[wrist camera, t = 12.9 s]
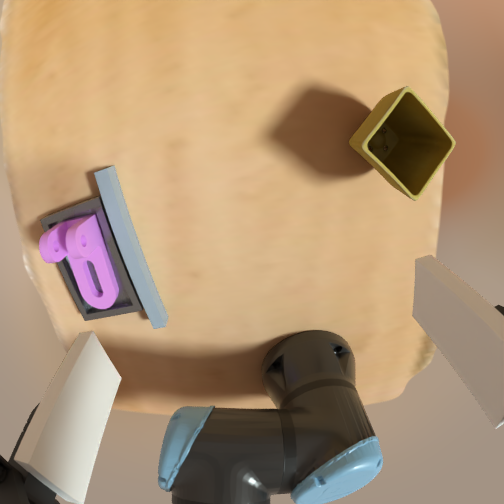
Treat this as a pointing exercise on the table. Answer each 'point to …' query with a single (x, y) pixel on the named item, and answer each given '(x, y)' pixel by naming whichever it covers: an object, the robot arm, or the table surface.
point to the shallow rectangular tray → (127, 291)
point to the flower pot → (404, 142)
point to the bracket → (82, 256)
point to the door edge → (130, 246)
